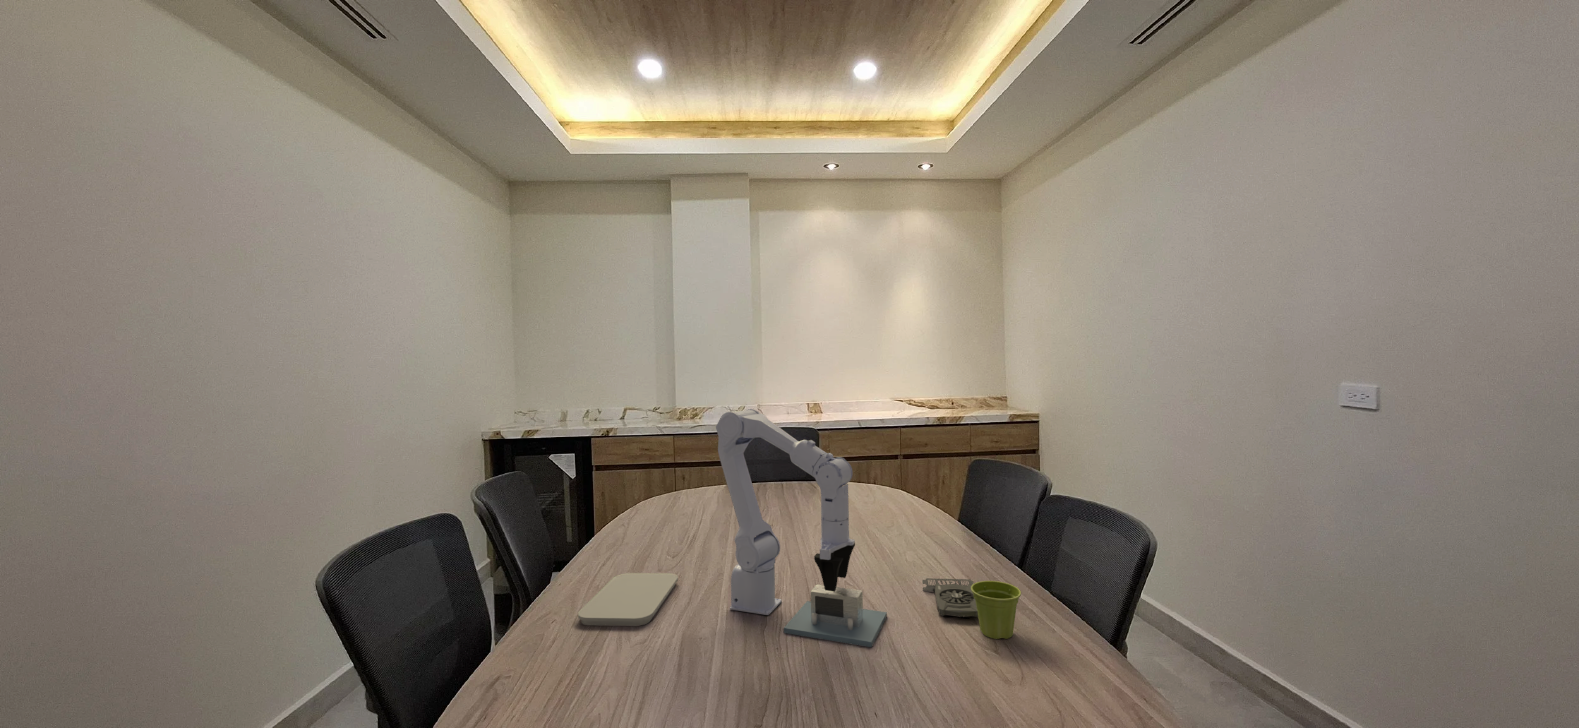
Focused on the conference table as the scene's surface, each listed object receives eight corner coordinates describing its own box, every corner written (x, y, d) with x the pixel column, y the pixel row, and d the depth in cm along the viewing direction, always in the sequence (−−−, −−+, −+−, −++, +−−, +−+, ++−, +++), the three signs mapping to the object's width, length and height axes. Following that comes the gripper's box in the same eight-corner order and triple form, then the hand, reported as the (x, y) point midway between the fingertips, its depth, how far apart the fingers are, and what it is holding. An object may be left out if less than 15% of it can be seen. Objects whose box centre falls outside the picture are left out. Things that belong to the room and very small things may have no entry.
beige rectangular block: (810, 620, 120) (810, 591, 120) (817, 612, 123) (816, 584, 123) (857, 627, 116) (857, 597, 116) (862, 619, 120) (862, 590, 120)
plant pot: (1010, 649, 108) (1009, 602, 108) (963, 633, 115) (962, 590, 115) (1029, 631, 115) (1028, 588, 115) (983, 618, 122) (982, 577, 122)
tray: (783, 632, 117) (783, 617, 117) (807, 605, 130) (806, 591, 130) (871, 647, 110) (871, 631, 110) (886, 616, 123) (886, 602, 123)
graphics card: (922, 576, 138) (974, 577, 136) (922, 591, 138) (974, 593, 136) (925, 606, 121) (985, 608, 119) (926, 624, 121) (985, 626, 119)
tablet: (572, 628, 121) (572, 617, 121) (618, 581, 147) (618, 572, 147) (648, 629, 120) (648, 618, 120) (681, 582, 146) (680, 573, 146)
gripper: (843, 529, 112) (844, 599, 112) (862, 510, 125) (863, 573, 125) (809, 525, 114) (810, 594, 114) (831, 508, 128) (832, 569, 128)
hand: (835, 583), depth 120 cm, fingers open, 7 cm apart
